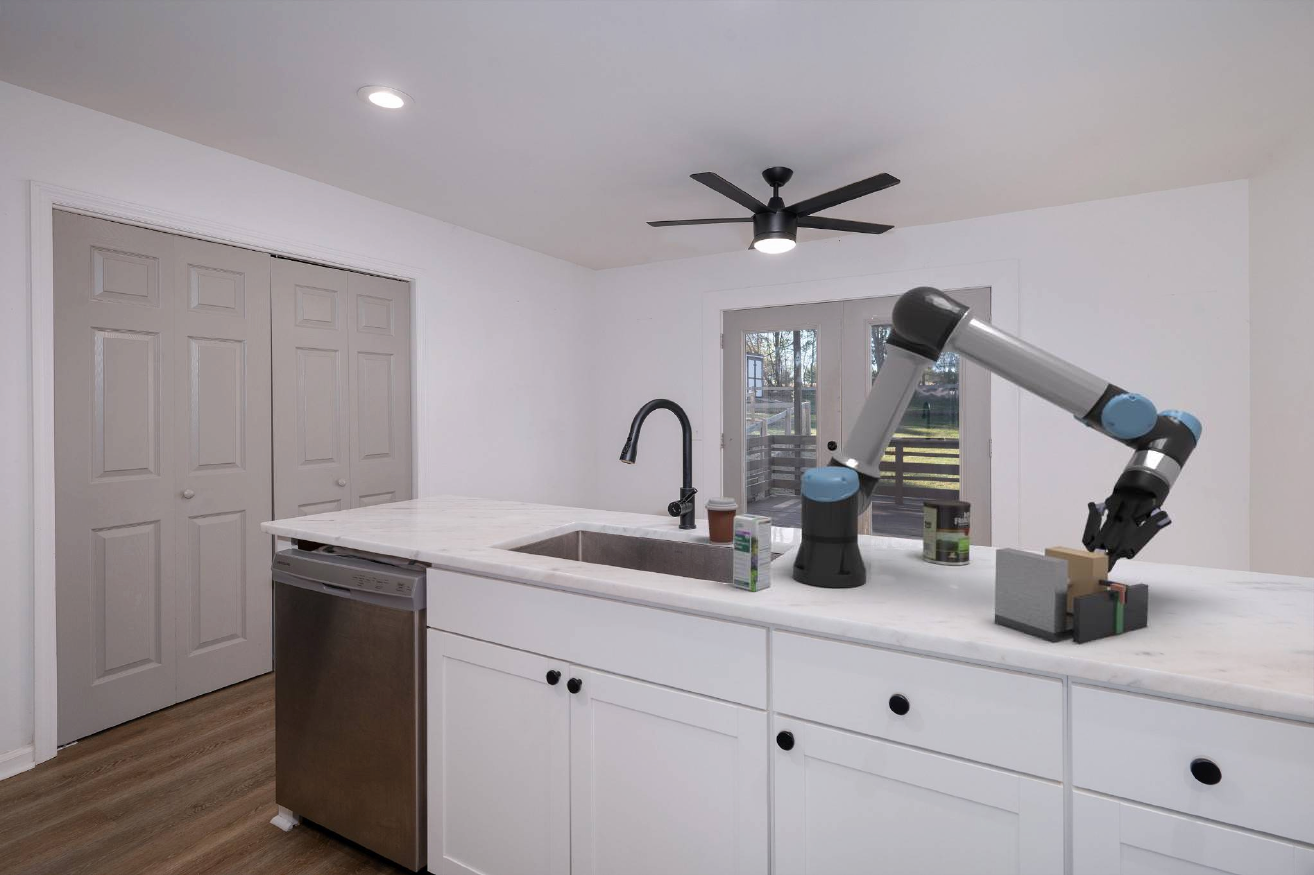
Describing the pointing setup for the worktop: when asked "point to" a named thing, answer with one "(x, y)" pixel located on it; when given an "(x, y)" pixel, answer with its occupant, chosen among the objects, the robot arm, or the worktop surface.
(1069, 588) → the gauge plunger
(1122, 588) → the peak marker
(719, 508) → the coffee cup
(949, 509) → the coffee can
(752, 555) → the syrup box
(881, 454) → the robot arm
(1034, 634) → the stand
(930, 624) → the worktop surface
